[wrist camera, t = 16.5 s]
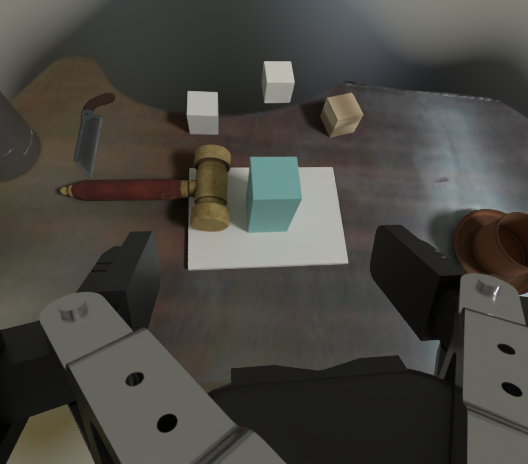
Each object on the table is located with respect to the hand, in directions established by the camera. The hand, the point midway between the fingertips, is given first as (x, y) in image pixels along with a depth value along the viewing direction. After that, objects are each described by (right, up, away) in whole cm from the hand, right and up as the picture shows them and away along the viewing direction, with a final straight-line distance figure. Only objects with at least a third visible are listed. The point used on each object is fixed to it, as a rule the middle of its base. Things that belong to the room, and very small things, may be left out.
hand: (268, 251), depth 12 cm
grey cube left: (-9, +17, +36) cm, 40 cm away
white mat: (0, +3, +31) cm, 32 cm away
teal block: (0, +3, +31) cm, 31 cm away
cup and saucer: (+31, -2, +33) cm, 45 cm away
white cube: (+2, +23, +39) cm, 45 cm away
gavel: (-15, +5, +31) cm, 34 cm away
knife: (-24, +14, +34) cm, 44 cm away
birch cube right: (+11, +17, +38) cm, 43 cm away
